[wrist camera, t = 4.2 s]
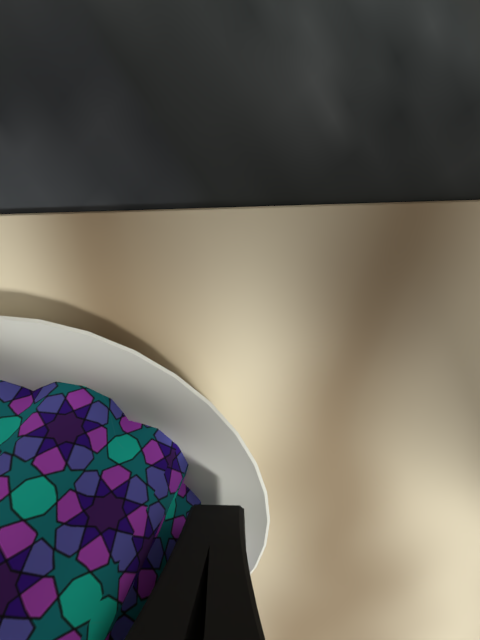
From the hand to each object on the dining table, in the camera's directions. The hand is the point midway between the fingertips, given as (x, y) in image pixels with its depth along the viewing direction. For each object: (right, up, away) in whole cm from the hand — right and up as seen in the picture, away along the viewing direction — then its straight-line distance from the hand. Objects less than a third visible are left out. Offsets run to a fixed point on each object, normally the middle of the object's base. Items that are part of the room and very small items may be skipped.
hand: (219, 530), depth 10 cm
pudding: (-5, +1, +2) cm, 5 cm away
